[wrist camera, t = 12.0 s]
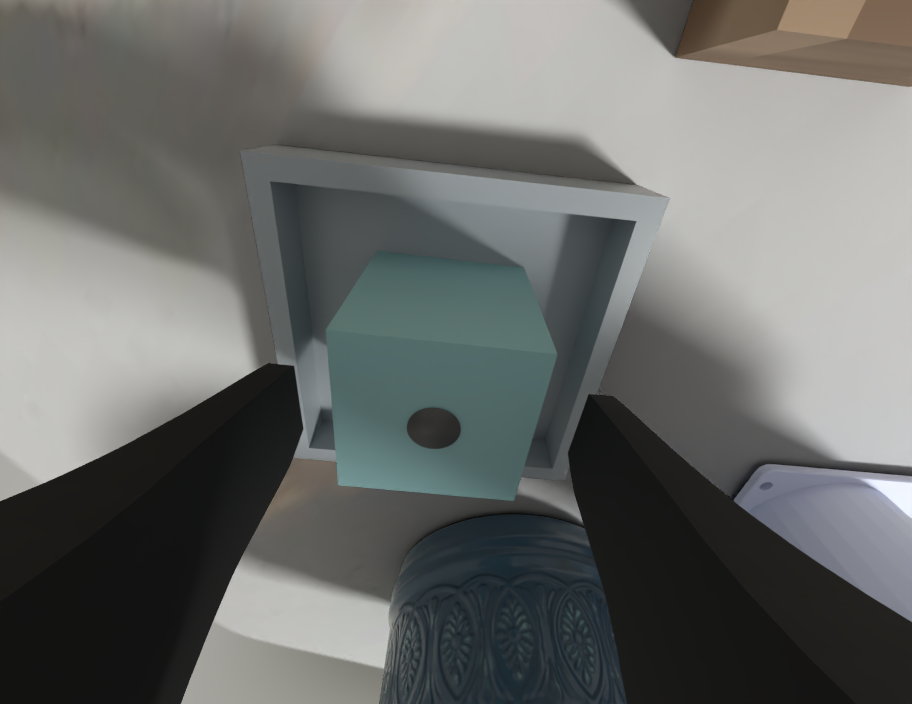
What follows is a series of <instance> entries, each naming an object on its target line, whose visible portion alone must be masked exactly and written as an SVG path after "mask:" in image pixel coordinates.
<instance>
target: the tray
mask: <svg viewBox="0 0 912 704" xmlns="http://www.w3.org/2000/svg"><path fill="white" fill-rule="evenodd" d="M240 155H241V161H242V167H243V172H244V178H245V183H246V189H247V195H248V200H249V206H250V212H251V217H252V223H253V228H254V234H255V240H256V245H257V251H258V257H259V262H260V268H261V273H262V279H263V285H264V290H265V296H266V302H267V307H268V313H269V318H270V324H271V330H272V335H273V341H274V346H275V352H276V358H277V363H278V364H281V365H291V366H294V369H295V375H296V382H297V389H298V395H299V402H300V409H301V415H302V422H303V432H302V435H301V438H300V440H299V443H298V446H297V449H296V451H295V454H294V458H298V459H310V460H322V461H334V462H336V452H335V440H334V427H333V415H332V402H331V390H330V377H329V365H328V352H327V339H326V329H327V327H328V326H329V324H330V322H331V321H332V319H333V318H334V316H335V315H336V313H337V312H338V310H339V309H340V307H341V306H342V304H343V302H344V301H345V299H346V298H347V296H348V295H349V293H350V292H351V290H352V289H353V287H354V285H355V284H356V282H357V281H358V279H359V278H360V276H361V275H362V273H363V272H364V270H365V269H366V267H367V265H368V264H369V262H370V261H371V259H372V258H373V256H374V255H375V253H376V252H377V251H384V252H393V253H402V254H410V255H419V256H428V257H437V258H445V259H454V260H463V261H472V262H480V263H489V264H498V265H507V266H515V267H524V269H525V271H526V274H527V276H528V279H529V282H530V284H531V287H532V289H533V292H534V295H535V297H536V300H537V302H538V305H539V307H540V310H541V313H542V315H543V318H544V320H545V323H546V326H547V328H548V331H549V333H550V336H551V339H552V341H553V344H554V346H555V349H556V352H557V358H556V361H555V365H554V368H553V371H552V375H551V378H550V381H549V385H548V388H547V392H546V395H545V398H544V402H543V405H542V408H541V412H540V415H539V418H538V422H537V425H536V429H535V432H534V435H533V439H532V442H531V445H530V449H529V452H528V455H527V459H526V462H525V466H524V469H523V472H522V476H521V477H524V478H536V479H548V480H560V481H565V478H566V476H567V473H568V470H569V468H570V465H569V459H568V451H569V448H570V445H571V442H572V439H573V437H574V434H575V431H576V428H577V425H578V423H579V420H580V417H581V414H582V411H583V409H584V406H585V403H586V400H587V397H588V394H594V395H597V392H598V390H599V387H600V384H601V382H602V379H603V376H604V374H605V371H606V368H607V365H608V363H609V360H610V357H611V355H612V352H613V349H614V347H615V344H616V341H617V339H618V336H619V333H620V331H621V328H622V325H623V323H624V320H625V317H626V314H627V312H628V309H629V306H630V304H631V301H632V298H633V296H634V293H635V290H636V288H637V285H638V282H639V280H640V277H641V274H642V271H643V269H644V266H645V263H646V261H647V258H648V255H649V253H650V250H651V247H652V245H653V242H654V239H655V237H656V234H657V231H658V228H659V226H660V223H661V220H662V218H663V215H664V212H665V210H666V207H667V204H668V202H669V199H670V198H668V197H666V196H663V195H661V194H658V193H656V192H653V191H651V190H648V189H646V188H644V187H641V186H639V185H632V184H623V183H614V182H605V181H596V180H587V179H578V178H569V177H561V176H552V175H543V174H534V173H525V172H516V171H507V170H498V169H489V168H480V167H471V166H462V165H453V164H445V163H436V162H427V161H418V160H409V159H400V158H391V157H382V156H373V155H364V154H355V153H346V152H337V151H328V150H320V149H311V148H302V147H293V146H284V145H270V146H264V147H258V148H251V149H245V150H240Z"/></svg>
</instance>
